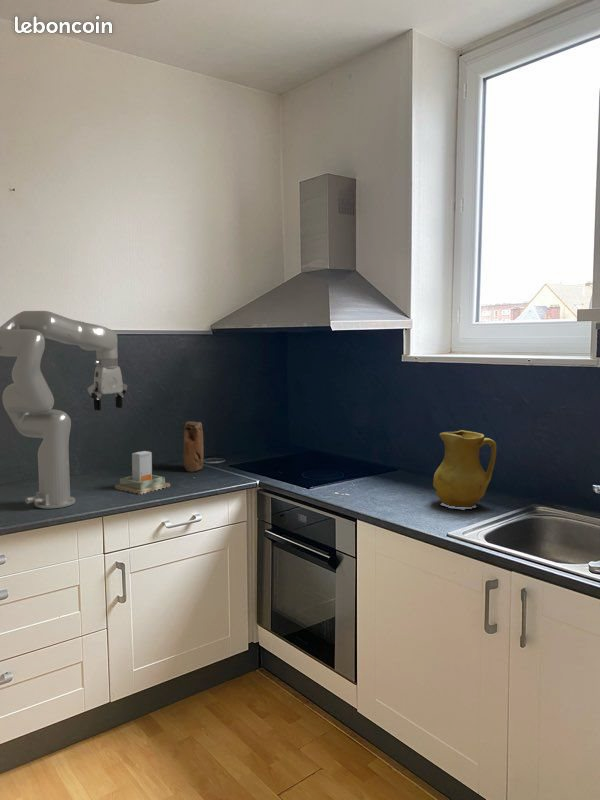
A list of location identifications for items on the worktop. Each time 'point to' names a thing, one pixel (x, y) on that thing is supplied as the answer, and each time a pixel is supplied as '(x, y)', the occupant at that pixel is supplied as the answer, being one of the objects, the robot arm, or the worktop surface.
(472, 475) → the pitcher
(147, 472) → the skincare box
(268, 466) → the worktop surface
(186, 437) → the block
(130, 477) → the socket stand
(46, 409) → the robot arm
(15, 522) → the worktop surface
